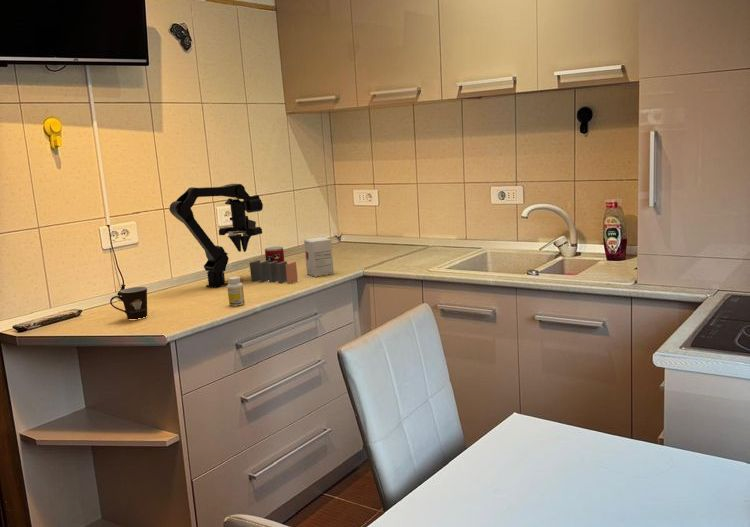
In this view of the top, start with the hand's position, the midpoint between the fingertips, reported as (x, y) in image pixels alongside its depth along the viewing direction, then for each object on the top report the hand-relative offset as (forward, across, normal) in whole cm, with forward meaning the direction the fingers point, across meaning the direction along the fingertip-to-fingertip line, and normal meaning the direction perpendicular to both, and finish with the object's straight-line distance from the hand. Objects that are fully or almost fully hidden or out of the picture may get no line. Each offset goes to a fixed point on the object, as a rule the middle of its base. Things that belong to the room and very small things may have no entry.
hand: (242, 251), depth 290 cm
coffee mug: (+12, 0, +61) cm, 62 cm away
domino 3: (+12, -15, 0) cm, 19 cm away
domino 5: (+12, -24, 0) cm, 27 cm away
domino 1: (+12, -6, 0) cm, 13 cm away
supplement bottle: (+12, -25, +36) cm, 45 cm away
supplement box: (+12, -27, -16) cm, 34 cm away
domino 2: (+12, -10, 0) cm, 16 cm away
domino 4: (+12, -20, 0) cm, 23 cm away
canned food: (+12, -5, -15) cm, 20 cm away
